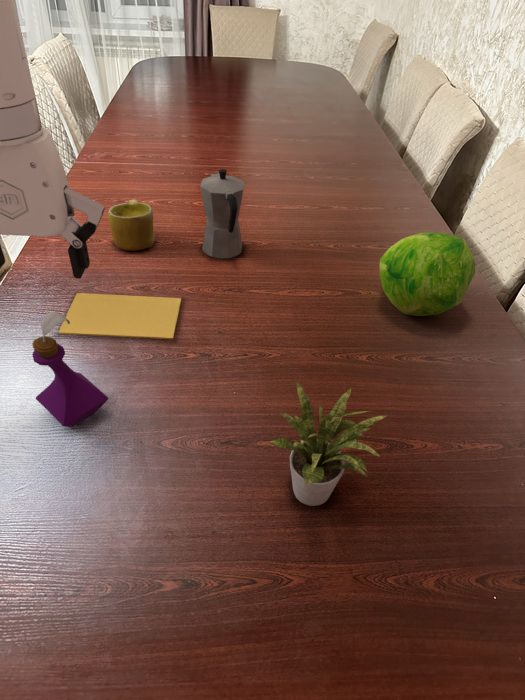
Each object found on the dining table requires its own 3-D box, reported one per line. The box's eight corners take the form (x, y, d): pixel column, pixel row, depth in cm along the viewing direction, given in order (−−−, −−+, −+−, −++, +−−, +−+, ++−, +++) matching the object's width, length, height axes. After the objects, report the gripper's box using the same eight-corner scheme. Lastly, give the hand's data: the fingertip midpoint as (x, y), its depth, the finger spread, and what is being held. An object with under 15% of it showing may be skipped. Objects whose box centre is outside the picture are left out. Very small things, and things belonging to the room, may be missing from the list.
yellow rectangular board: (58, 334, 91) (58, 332, 91) (77, 294, 100) (76, 292, 100) (173, 339, 92) (172, 337, 92) (181, 299, 101) (181, 298, 101)
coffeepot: (194, 236, 120) (192, 158, 108) (234, 232, 122) (235, 155, 110) (211, 272, 109) (211, 190, 97) (254, 266, 111) (259, 186, 100)
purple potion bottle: (67, 441, 74) (39, 345, 62) (40, 412, 78) (7, 317, 66) (112, 413, 78) (93, 318, 66) (83, 387, 82) (61, 293, 70)
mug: (156, 251, 110) (139, 204, 106) (112, 260, 112) (94, 215, 108) (171, 233, 121) (157, 191, 116) (131, 242, 123) (115, 200, 118)
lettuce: (447, 289, 112) (423, 220, 108) (506, 296, 92) (479, 212, 88) (377, 324, 110) (349, 255, 107) (422, 338, 91) (390, 255, 87)
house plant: (365, 558, 63) (395, 479, 53) (253, 536, 65) (261, 455, 54) (368, 463, 74) (393, 382, 63) (272, 446, 75) (281, 364, 65)
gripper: (-115, 126, 47) (-50, 285, 58) (78, 136, 47) (106, 291, 59) (-74, 102, 53) (-22, 250, 64) (98, 111, 53) (120, 257, 64)
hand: (39, 270), depth 61 cm, fingers open, 9 cm apart
